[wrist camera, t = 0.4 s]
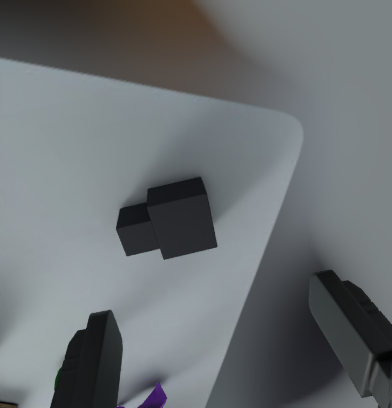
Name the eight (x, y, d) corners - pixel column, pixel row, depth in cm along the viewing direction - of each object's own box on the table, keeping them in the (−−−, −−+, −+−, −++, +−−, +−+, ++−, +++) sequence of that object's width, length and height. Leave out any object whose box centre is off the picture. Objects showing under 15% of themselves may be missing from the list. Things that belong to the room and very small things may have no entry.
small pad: (115, 196, 27) (110, 215, 24) (200, 176, 27) (206, 193, 24) (133, 244, 30) (131, 267, 27) (211, 226, 30) (217, 247, 27)
